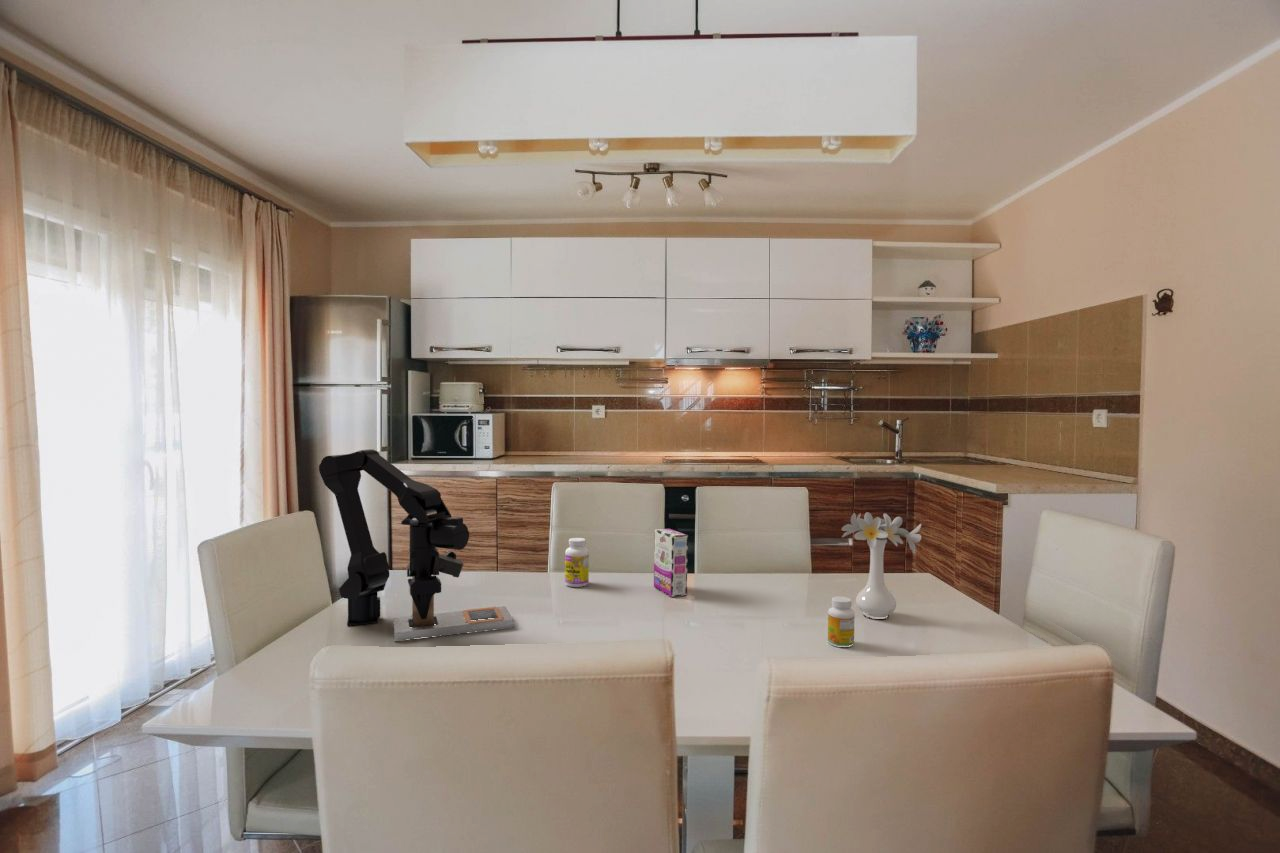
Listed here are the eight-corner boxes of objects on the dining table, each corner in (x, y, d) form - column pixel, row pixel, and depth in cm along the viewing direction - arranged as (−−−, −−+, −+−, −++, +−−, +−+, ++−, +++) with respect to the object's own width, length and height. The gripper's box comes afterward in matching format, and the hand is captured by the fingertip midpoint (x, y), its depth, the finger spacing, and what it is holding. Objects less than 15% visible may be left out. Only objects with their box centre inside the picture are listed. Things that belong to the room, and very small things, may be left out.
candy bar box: (688, 596, 172) (689, 534, 171) (671, 598, 170) (672, 536, 169) (668, 585, 182) (669, 527, 181) (652, 587, 180) (653, 528, 179)
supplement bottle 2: (823, 639, 141) (824, 595, 140) (848, 639, 141) (848, 595, 141) (833, 648, 135) (833, 602, 135) (858, 648, 136) (859, 602, 135)
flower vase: (927, 625, 151) (930, 518, 150) (848, 624, 151) (850, 517, 150) (904, 607, 164) (906, 509, 163) (831, 606, 164) (833, 508, 163)
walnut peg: (412, 633, 140) (412, 592, 140) (411, 626, 144) (411, 587, 144) (434, 631, 142) (434, 590, 142) (432, 624, 146) (433, 585, 146)
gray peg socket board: (394, 642, 136) (394, 631, 136) (393, 626, 146) (393, 617, 145) (513, 627, 146) (513, 618, 146) (505, 614, 155) (505, 605, 155)
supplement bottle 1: (560, 585, 180) (560, 540, 180) (573, 580, 186) (573, 536, 185) (580, 589, 177) (580, 542, 176) (593, 583, 183) (593, 538, 182)
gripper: (465, 551, 137) (465, 624, 137) (456, 535, 154) (456, 599, 155) (410, 556, 133) (410, 631, 133) (406, 538, 150) (406, 604, 151)
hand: (423, 615), depth 143 cm, fingers closed on walnut peg, 4 cm apart
